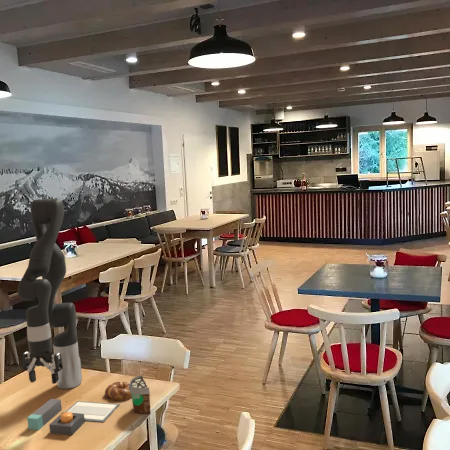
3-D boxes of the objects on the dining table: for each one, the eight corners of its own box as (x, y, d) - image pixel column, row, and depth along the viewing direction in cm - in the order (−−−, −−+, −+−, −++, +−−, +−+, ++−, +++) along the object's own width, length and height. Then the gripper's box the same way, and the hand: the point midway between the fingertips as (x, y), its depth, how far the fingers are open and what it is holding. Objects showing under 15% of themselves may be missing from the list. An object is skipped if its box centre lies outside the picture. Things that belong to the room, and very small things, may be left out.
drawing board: (77, 401, 180) (77, 400, 180) (119, 405, 176) (119, 403, 176) (59, 418, 168) (58, 417, 168) (103, 422, 164) (103, 420, 164)
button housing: (63, 420, 167) (63, 412, 166) (84, 422, 165) (84, 413, 164) (50, 433, 159) (49, 424, 159) (71, 435, 157) (71, 426, 157)
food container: (127, 403, 176) (125, 377, 175) (144, 400, 178) (142, 374, 177) (133, 419, 165) (131, 391, 164) (151, 415, 167) (149, 388, 166)
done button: (65, 418, 164) (64, 411, 164) (75, 419, 163) (74, 412, 163) (58, 424, 160) (58, 417, 160) (69, 425, 159) (68, 418, 159)
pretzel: (141, 395, 183) (140, 386, 183) (114, 405, 176) (114, 395, 176) (126, 385, 192) (126, 376, 192) (100, 394, 186) (100, 384, 185)
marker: (51, 409, 175) (50, 398, 175) (61, 410, 174) (60, 399, 174) (28, 429, 162) (27, 417, 162) (38, 430, 161) (37, 418, 161)
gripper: (64, 333, 168) (68, 378, 170) (28, 332, 171) (32, 376, 173) (51, 341, 161) (56, 388, 162) (14, 339, 164) (19, 385, 166)
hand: (44, 382), depth 168 cm, fingers open, 8 cm apart
